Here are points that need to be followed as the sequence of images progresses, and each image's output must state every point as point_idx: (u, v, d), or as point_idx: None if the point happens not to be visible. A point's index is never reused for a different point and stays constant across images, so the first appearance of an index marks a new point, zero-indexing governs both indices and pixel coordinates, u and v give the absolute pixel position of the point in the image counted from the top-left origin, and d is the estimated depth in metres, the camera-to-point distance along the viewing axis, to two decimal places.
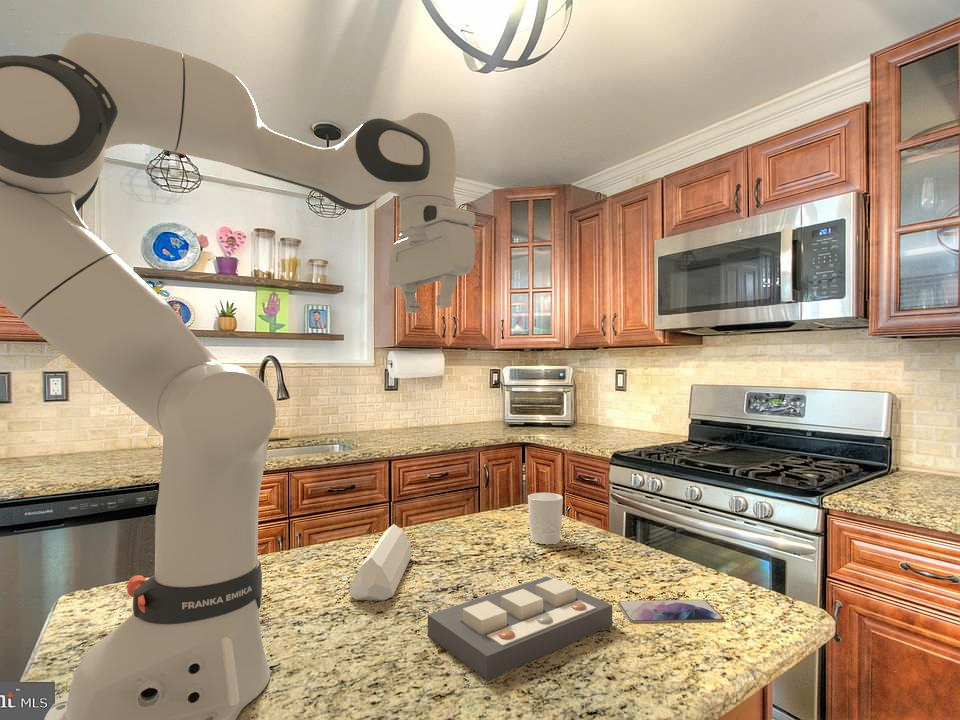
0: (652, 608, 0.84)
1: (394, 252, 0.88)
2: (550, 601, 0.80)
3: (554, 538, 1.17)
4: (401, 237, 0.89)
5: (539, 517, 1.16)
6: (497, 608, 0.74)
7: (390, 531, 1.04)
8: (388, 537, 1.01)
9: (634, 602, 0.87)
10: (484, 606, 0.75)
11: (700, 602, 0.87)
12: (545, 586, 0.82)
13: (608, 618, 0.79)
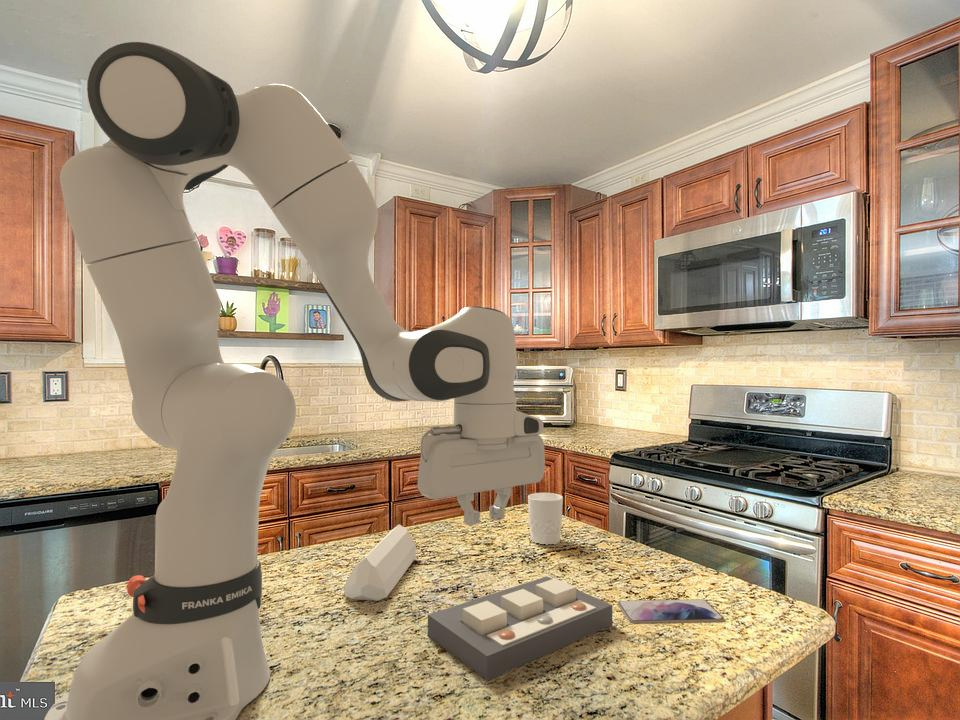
0: (652, 608, 0.84)
1: (446, 455, 0.68)
2: (550, 601, 0.80)
3: (554, 538, 1.17)
4: (441, 432, 0.69)
5: (539, 517, 1.16)
6: (497, 608, 0.74)
7: (393, 531, 1.04)
8: (390, 538, 1.01)
9: (634, 602, 0.87)
10: (484, 606, 0.75)
11: (699, 602, 0.87)
12: (545, 586, 0.82)
13: (608, 618, 0.79)
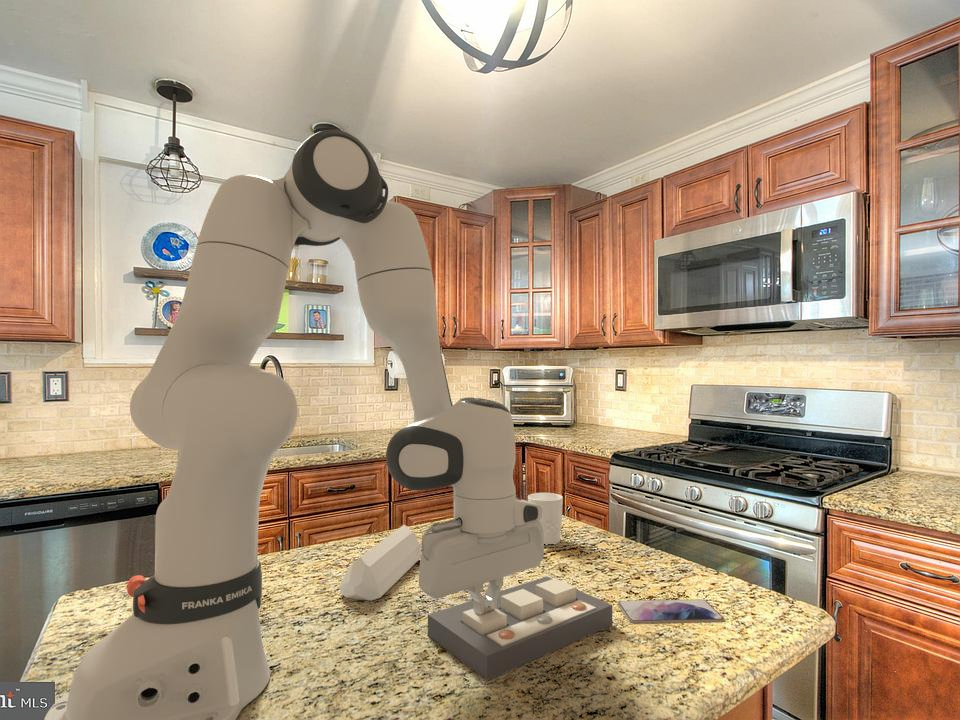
0: (652, 608, 0.84)
1: (447, 553, 0.69)
2: (550, 601, 0.80)
3: (554, 538, 1.17)
4: (441, 529, 0.70)
5: None
6: (497, 611, 0.74)
7: (396, 531, 1.04)
8: (391, 538, 1.00)
9: (634, 601, 0.87)
10: None
11: (699, 602, 0.87)
12: (545, 586, 0.82)
13: (608, 618, 0.79)
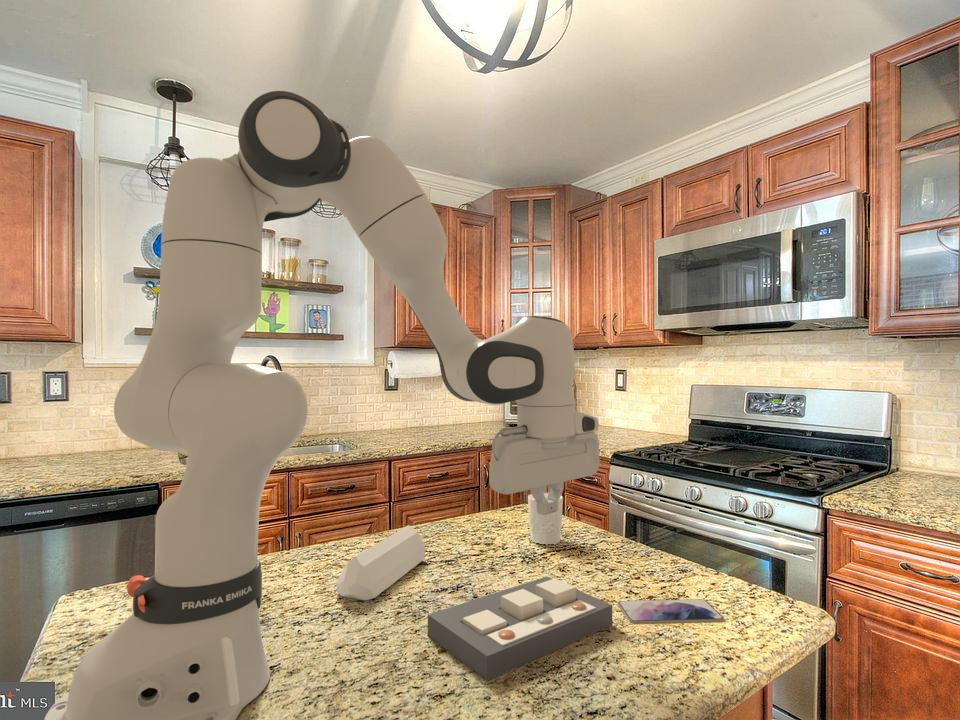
0: (652, 608, 0.84)
1: (516, 454, 0.75)
2: (550, 601, 0.80)
3: (554, 538, 1.17)
4: (509, 433, 0.76)
5: (539, 517, 1.16)
6: (497, 617, 0.74)
7: (399, 532, 1.03)
8: (392, 538, 1.00)
9: (634, 602, 0.87)
10: (484, 615, 0.75)
11: (699, 602, 0.87)
12: (545, 586, 0.82)
13: (608, 618, 0.79)
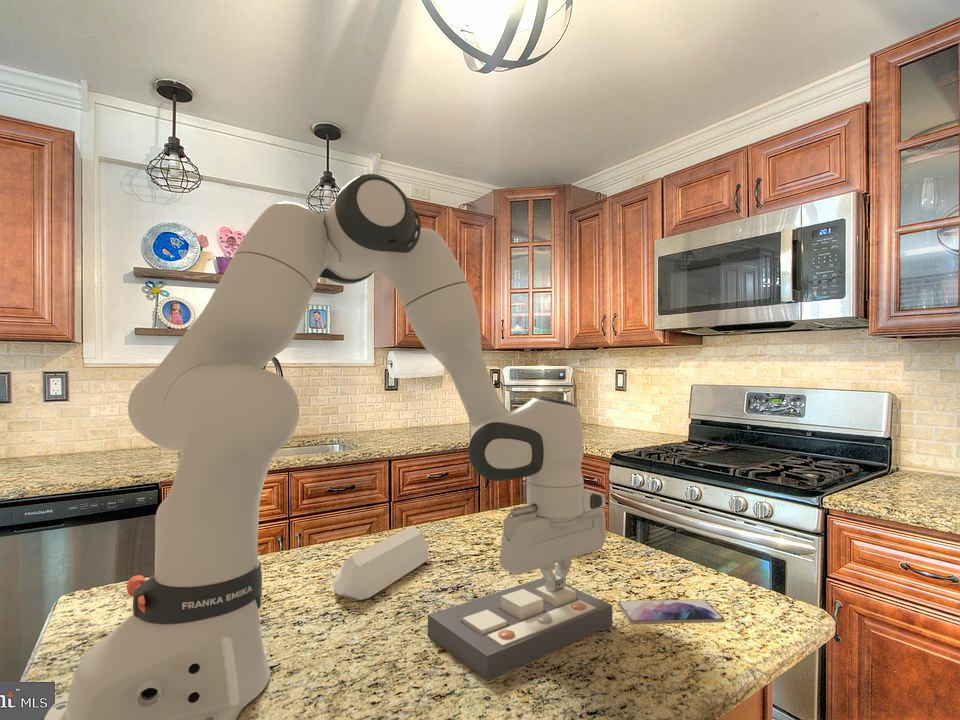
0: (652, 608, 0.84)
1: (527, 534, 0.77)
2: None
3: None
4: (520, 513, 0.78)
5: None
6: (497, 617, 0.74)
7: (401, 532, 1.03)
8: (393, 538, 1.00)
9: (634, 602, 0.87)
10: (484, 615, 0.75)
11: (699, 602, 0.87)
12: (545, 590, 0.82)
13: (608, 618, 0.79)
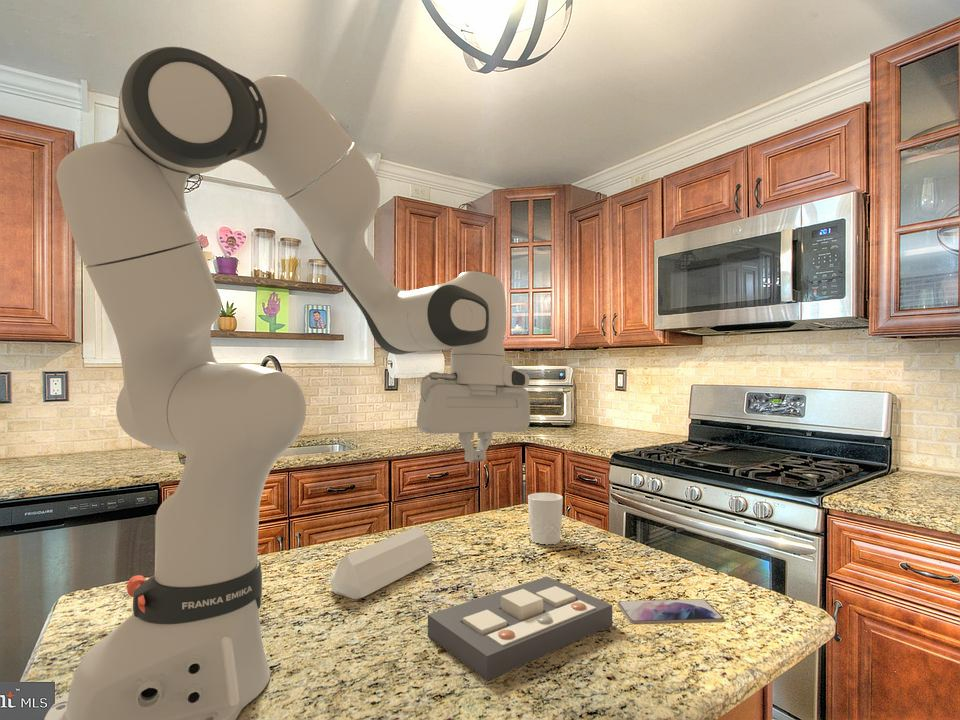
0: (652, 608, 0.84)
1: (443, 395, 0.79)
2: None
3: (554, 538, 1.17)
4: (438, 377, 0.80)
5: (539, 517, 1.16)
6: (497, 617, 0.74)
7: (404, 532, 1.03)
8: (394, 539, 1.00)
9: (634, 602, 0.87)
10: (484, 615, 0.75)
11: (699, 602, 0.87)
12: (545, 594, 0.82)
13: (608, 618, 0.79)
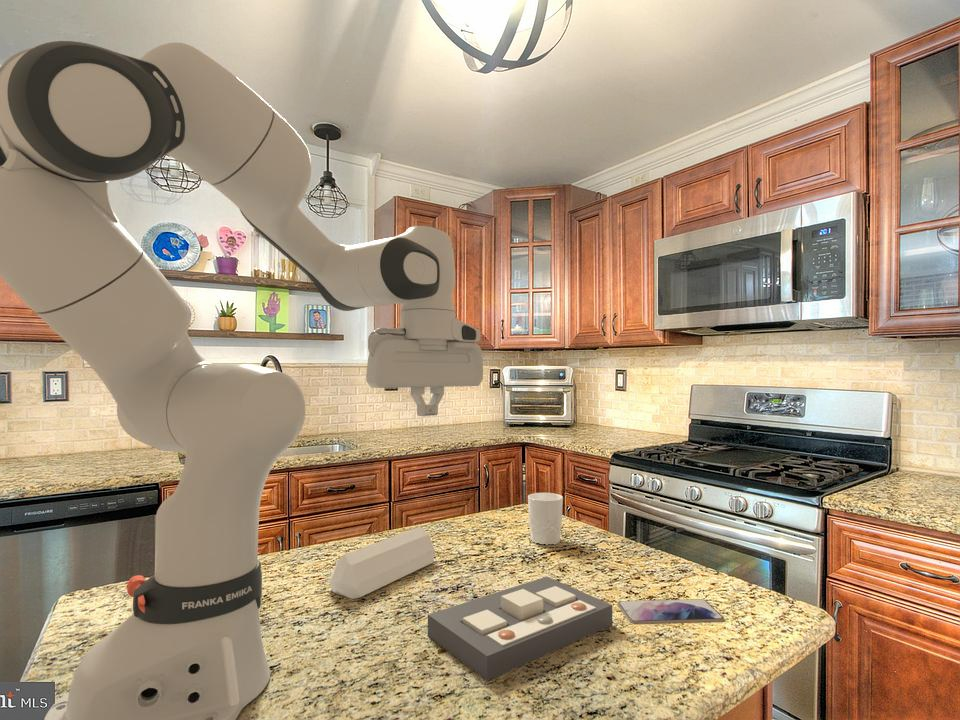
0: (652, 608, 0.84)
1: (390, 350, 0.79)
2: None
3: (554, 538, 1.17)
4: (386, 332, 0.80)
5: (539, 517, 1.16)
6: (497, 617, 0.74)
7: (405, 533, 1.03)
8: (395, 539, 1.00)
9: (634, 602, 0.87)
10: (484, 615, 0.75)
11: (699, 602, 0.87)
12: (545, 594, 0.82)
13: (608, 618, 0.79)
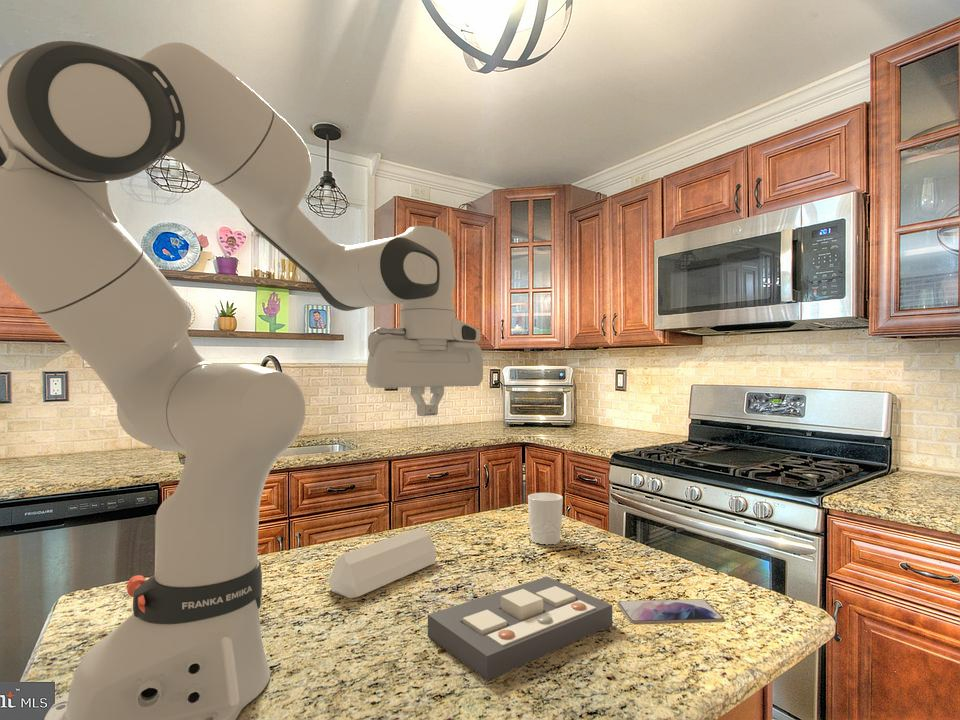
0: (652, 608, 0.84)
1: (390, 350, 0.79)
2: None
3: (554, 538, 1.17)
4: (386, 332, 0.80)
5: (539, 517, 1.16)
6: (497, 617, 0.74)
7: (406, 533, 1.03)
8: (395, 539, 1.00)
9: (634, 602, 0.87)
10: (484, 615, 0.75)
11: (699, 602, 0.87)
12: (545, 594, 0.82)
13: (608, 618, 0.79)
